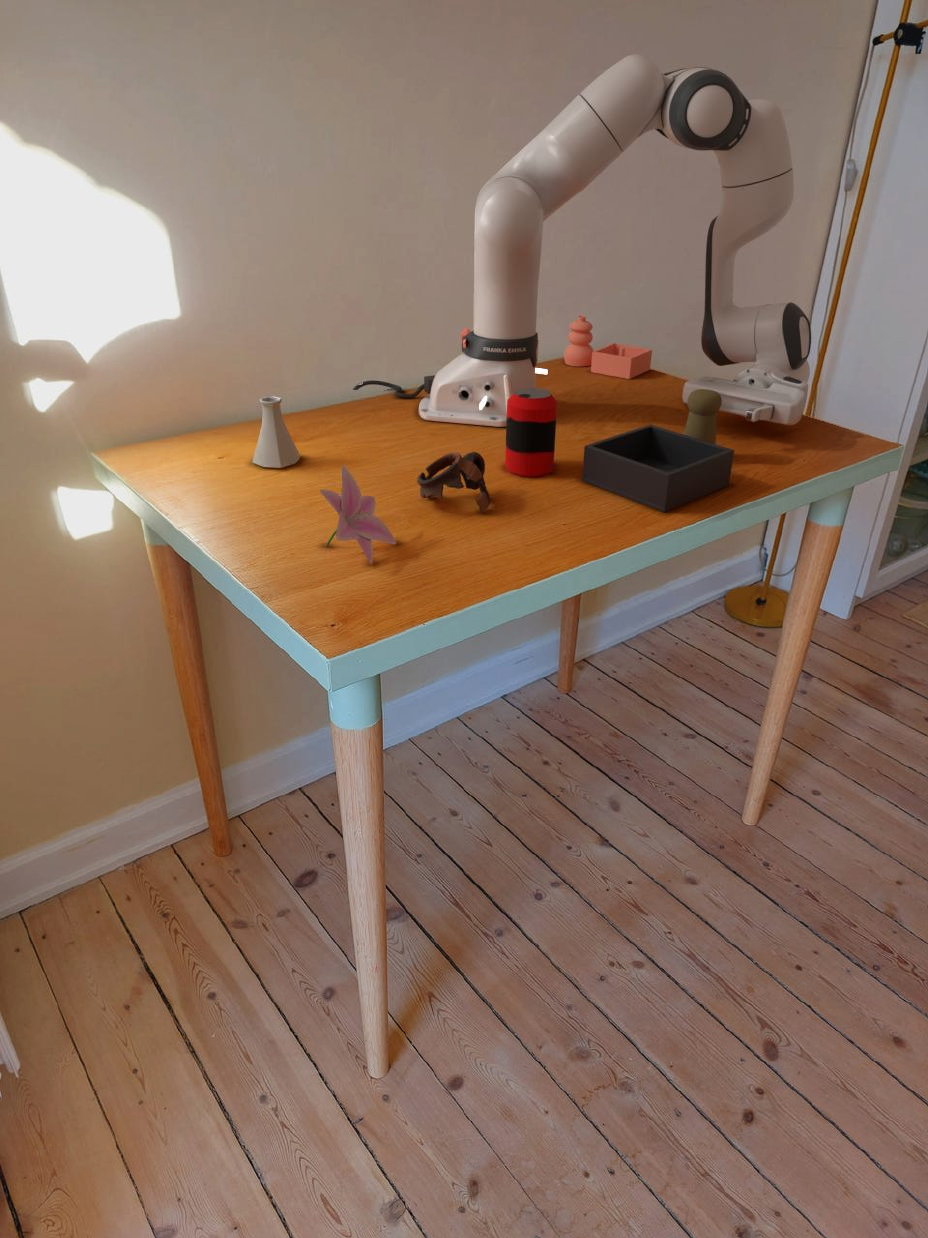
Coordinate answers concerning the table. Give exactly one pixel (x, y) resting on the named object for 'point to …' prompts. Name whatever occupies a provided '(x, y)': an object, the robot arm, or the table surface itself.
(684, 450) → the open box
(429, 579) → the table surface
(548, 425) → the soda can
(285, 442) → the flask
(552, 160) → the robot arm
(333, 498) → the lily
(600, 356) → the pottery
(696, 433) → the cork
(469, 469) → the broken clay pot
